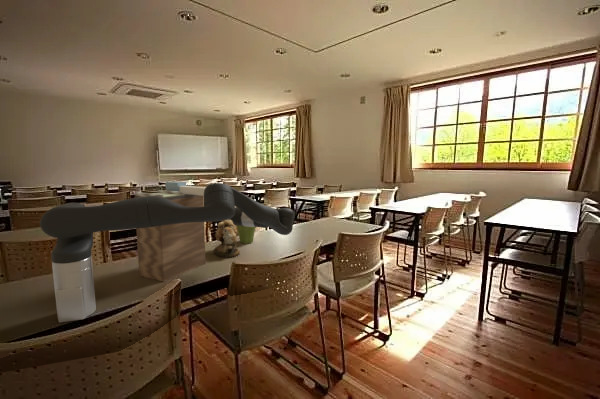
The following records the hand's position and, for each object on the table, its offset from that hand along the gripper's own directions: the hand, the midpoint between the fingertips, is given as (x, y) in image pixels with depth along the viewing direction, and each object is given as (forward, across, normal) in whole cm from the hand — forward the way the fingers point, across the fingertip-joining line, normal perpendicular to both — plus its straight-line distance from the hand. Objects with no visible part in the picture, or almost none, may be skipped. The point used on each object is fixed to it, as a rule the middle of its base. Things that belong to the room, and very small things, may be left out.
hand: (210, 213), depth 124 cm
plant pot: (+1, -44, +18) cm, 47 cm away
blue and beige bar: (+8, +4, -7) cm, 12 cm away
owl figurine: (+3, -23, +21) cm, 31 cm away
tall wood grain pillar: (+13, +2, +25) cm, 28 cm away
